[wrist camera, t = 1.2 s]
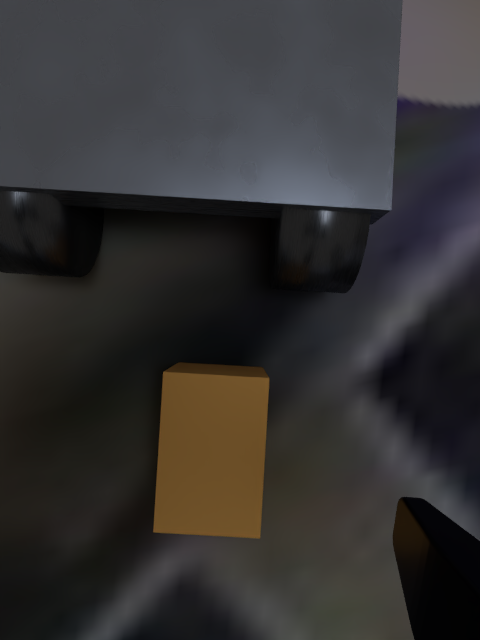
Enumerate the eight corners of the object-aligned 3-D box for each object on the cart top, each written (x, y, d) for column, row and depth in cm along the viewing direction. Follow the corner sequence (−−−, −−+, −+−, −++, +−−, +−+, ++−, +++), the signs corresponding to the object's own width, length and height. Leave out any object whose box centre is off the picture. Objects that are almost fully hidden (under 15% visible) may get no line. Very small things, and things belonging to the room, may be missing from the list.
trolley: (339, 298, 21) (387, 285, 14) (25, 279, 21) (-71, 258, 14) (354, 30, 21) (408, -103, 14) (43, 9, 21) (-44, -134, 14)
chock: (255, 492, 21) (260, 538, 16) (171, 487, 21) (153, 532, 16) (262, 367, 21) (269, 378, 16) (179, 362, 21) (163, 371, 16)
